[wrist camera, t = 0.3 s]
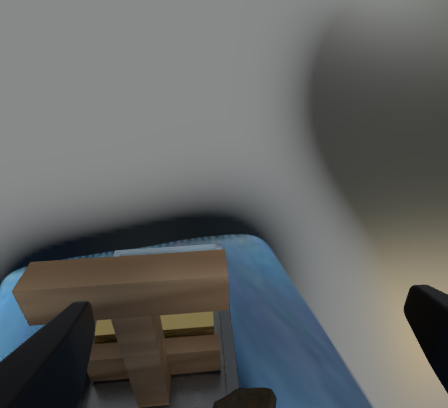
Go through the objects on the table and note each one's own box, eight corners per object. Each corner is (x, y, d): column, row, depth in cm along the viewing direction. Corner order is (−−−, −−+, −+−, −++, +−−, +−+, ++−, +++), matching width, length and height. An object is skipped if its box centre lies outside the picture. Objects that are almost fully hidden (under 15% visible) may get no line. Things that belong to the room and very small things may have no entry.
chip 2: (215, 351, 24) (213, 325, 23) (161, 356, 24) (156, 330, 22) (212, 309, 27) (211, 284, 26) (165, 313, 27) (161, 288, 26)
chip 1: (156, 356, 24) (150, 331, 22) (102, 361, 24) (92, 335, 22) (161, 313, 27) (156, 288, 26) (113, 317, 27) (106, 292, 25)
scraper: (230, 398, 21) (228, 276, 15) (74, 413, 20) (11, 291, 15) (226, 354, 24) (223, 235, 18) (88, 366, 23) (40, 247, 17)
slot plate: (242, 439, 21) (242, 416, 19) (66, 457, 20) (52, 435, 19) (227, 312, 30) (227, 289, 28) (105, 322, 29) (97, 299, 27)
